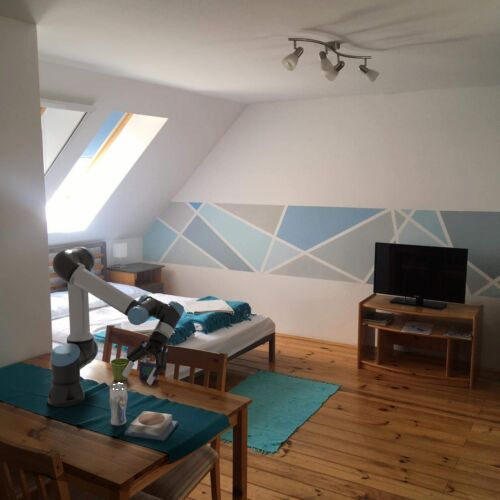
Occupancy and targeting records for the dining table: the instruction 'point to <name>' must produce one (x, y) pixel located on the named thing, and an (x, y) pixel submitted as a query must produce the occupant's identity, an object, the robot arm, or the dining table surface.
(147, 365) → the flask
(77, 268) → the robot arm
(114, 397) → the silver metal cup
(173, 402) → the dining table surface
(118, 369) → the plant pot
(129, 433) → the grey flat slab
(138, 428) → the plinth
